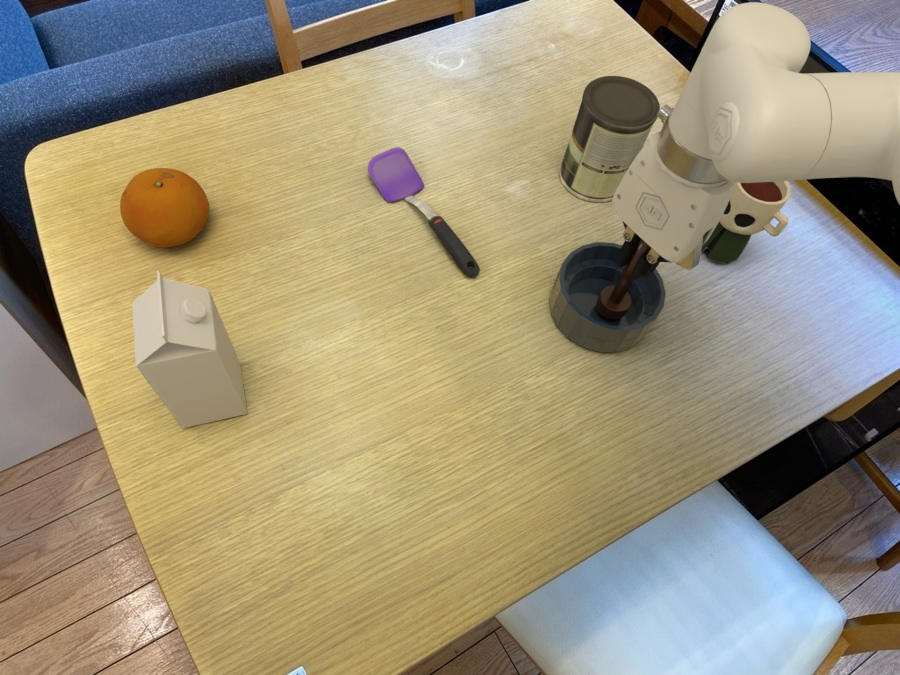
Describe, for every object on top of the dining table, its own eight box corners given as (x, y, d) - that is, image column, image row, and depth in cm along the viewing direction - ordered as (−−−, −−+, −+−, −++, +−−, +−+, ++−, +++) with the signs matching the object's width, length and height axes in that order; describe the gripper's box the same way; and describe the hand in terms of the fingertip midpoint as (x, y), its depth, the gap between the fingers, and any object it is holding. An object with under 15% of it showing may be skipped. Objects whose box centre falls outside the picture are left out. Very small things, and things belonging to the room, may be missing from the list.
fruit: (231, 214, 85) (217, 171, 78) (182, 270, 80) (163, 228, 73) (166, 186, 87) (147, 142, 80) (115, 239, 81) (90, 196, 75)
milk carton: (182, 429, 69) (118, 344, 53) (177, 374, 73) (116, 277, 56) (247, 415, 71) (206, 327, 54) (240, 361, 74) (198, 263, 58)
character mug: (672, 233, 90) (712, 166, 79) (705, 213, 93) (748, 146, 82) (729, 285, 86) (779, 223, 75) (761, 263, 89) (815, 200, 78)
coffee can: (544, 172, 94) (567, 93, 82) (590, 144, 98) (618, 65, 86) (593, 214, 91) (625, 138, 79) (639, 183, 95) (676, 107, 83)
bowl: (668, 322, 82) (687, 296, 77) (597, 372, 78) (612, 349, 72) (599, 255, 87) (612, 226, 82) (528, 298, 82) (537, 271, 77)
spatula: (494, 269, 84) (497, 257, 82) (453, 290, 82) (455, 279, 80) (401, 157, 93) (401, 144, 91) (361, 173, 91) (360, 160, 89)
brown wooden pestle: (632, 310, 81) (675, 241, 69) (611, 325, 79) (650, 257, 67) (611, 289, 82) (649, 217, 70) (589, 303, 81) (624, 232, 69)
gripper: (613, 112, 59) (565, 237, 75) (740, 219, 54) (660, 330, 69) (665, 85, 62) (609, 211, 78) (792, 184, 56) (703, 298, 72)
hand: (633, 266), depth 73 cm, fingers closed on brown wooden pestle, 1 cm apart
